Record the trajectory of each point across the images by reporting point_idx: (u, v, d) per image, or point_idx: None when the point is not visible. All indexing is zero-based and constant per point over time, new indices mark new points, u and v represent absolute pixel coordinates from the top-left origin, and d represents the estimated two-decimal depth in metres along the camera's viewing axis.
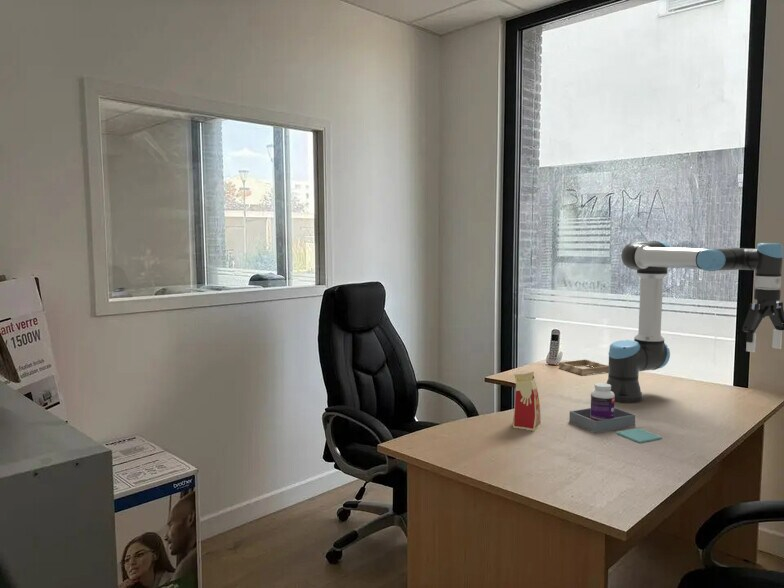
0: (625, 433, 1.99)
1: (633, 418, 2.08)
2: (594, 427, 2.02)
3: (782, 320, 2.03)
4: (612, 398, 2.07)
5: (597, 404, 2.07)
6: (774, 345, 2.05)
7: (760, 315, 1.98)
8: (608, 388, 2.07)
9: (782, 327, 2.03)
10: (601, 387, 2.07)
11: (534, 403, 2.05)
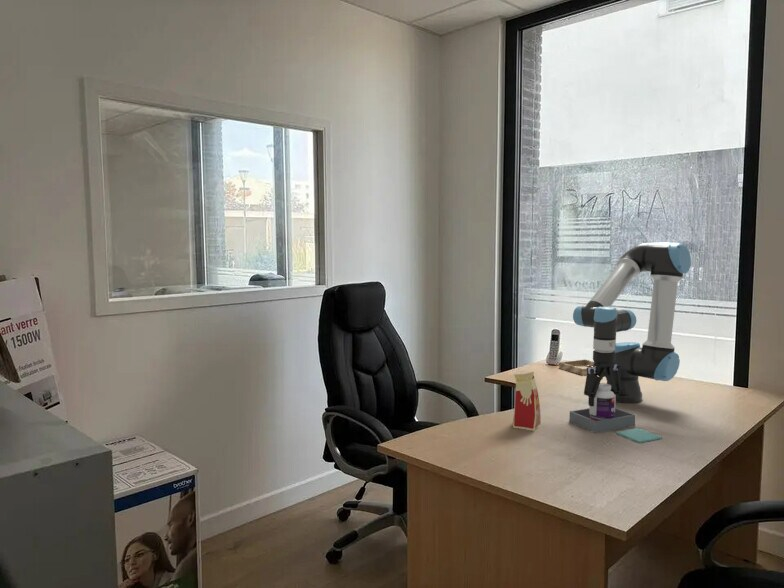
0: (625, 433, 1.99)
1: (633, 418, 2.08)
2: (594, 427, 2.02)
3: (617, 383, 2.11)
4: (612, 398, 2.07)
5: (597, 404, 2.07)
6: None
7: (598, 378, 2.07)
8: (608, 388, 2.07)
9: (616, 391, 2.11)
10: (601, 387, 2.07)
11: (534, 403, 2.05)
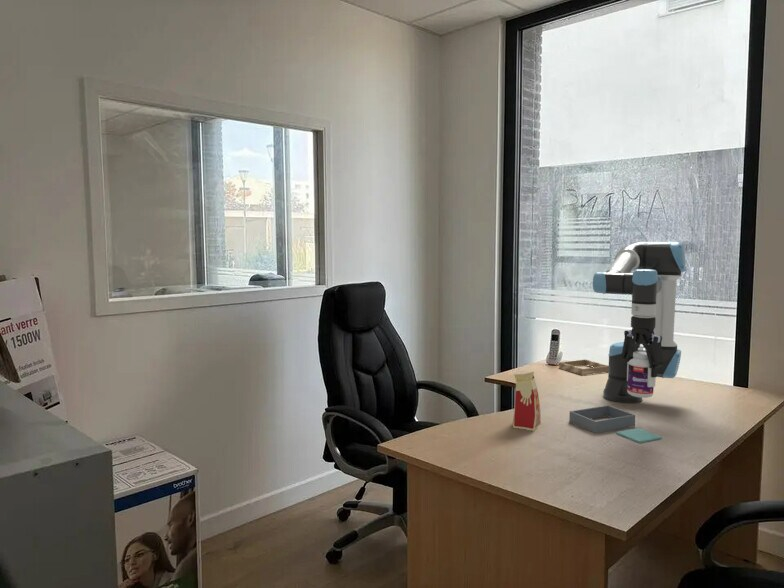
0: (625, 433, 1.99)
1: (633, 418, 2.08)
2: (594, 427, 2.02)
3: None
4: (634, 366, 1.93)
5: None
6: None
7: None
8: (635, 355, 1.94)
9: (650, 364, 1.91)
10: (633, 353, 1.97)
11: (534, 403, 2.05)
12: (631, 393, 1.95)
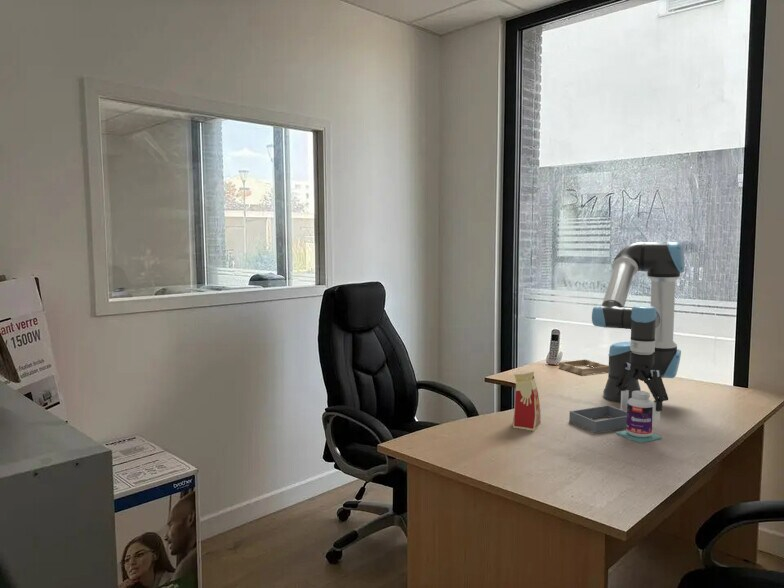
0: (625, 433, 1.99)
1: None
2: (594, 427, 2.02)
3: None
4: (633, 406, 1.95)
5: None
6: None
7: None
8: (634, 395, 1.96)
9: (655, 398, 1.90)
10: (632, 392, 1.98)
11: (534, 403, 2.05)
12: (630, 433, 1.96)
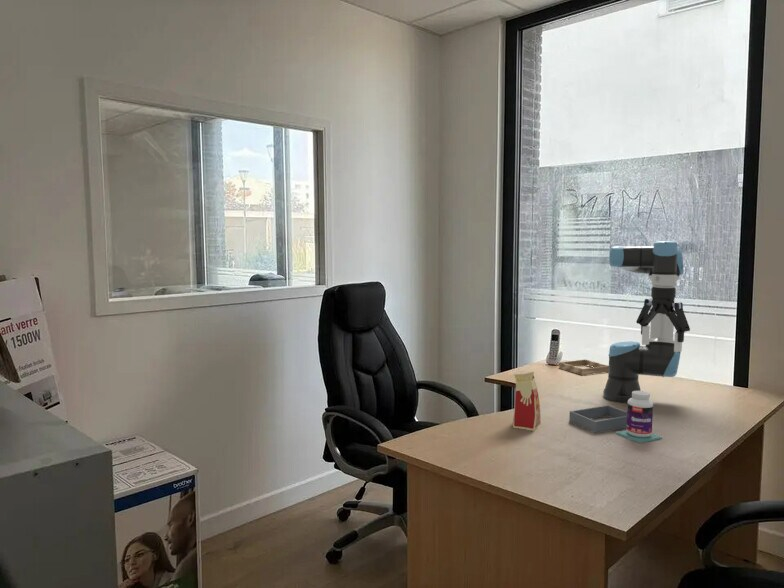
0: (625, 433, 1.99)
1: None
2: (594, 427, 2.02)
3: None
4: (633, 406, 1.95)
5: None
6: None
7: None
8: (634, 395, 1.96)
9: (677, 329, 1.95)
10: (632, 392, 1.98)
11: (534, 403, 2.05)
12: (630, 433, 1.96)
